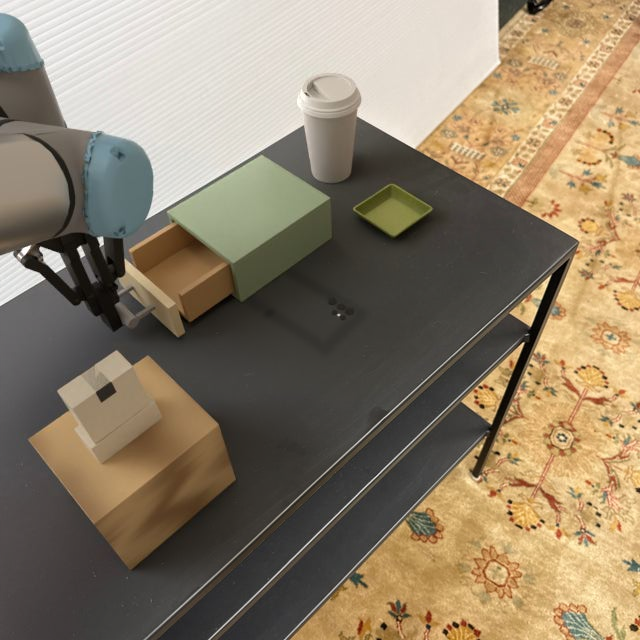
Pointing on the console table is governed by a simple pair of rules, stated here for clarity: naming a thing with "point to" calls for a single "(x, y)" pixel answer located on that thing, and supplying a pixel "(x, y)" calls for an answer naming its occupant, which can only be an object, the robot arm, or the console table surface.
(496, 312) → the console table surface
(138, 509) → the stand
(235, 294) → the cabinet
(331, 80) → the coffee cup
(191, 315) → the drawer
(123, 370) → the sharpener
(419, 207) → the olive green square tray
